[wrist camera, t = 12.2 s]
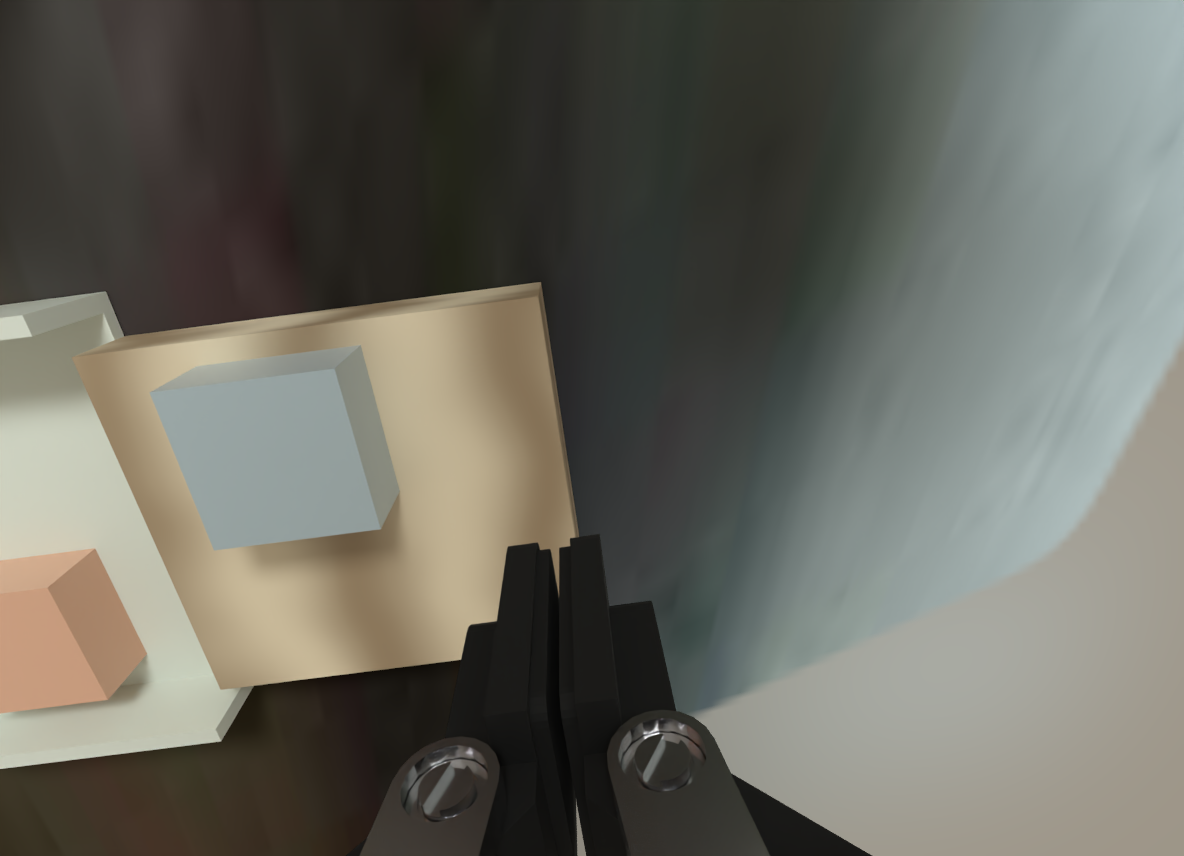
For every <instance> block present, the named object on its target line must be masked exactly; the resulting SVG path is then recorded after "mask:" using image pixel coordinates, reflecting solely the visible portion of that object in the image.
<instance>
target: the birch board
mask: <svg viewBox="0 0 1184 856" xmlns="http://www.w3.org/2000/svg"><path fill="white" fill-rule="evenodd" d="M357 345H361V348H362V352H363V355H364V359H365V363H366V367H367V370H368V374H369V378H370V382H371V385H372V389H373V393H374V397H375V400H376V404H377V408H378V412H379V415H380V419H381V423H382V427H383V430H384V434H385V438H386V442H387V445H388V449H389V453H390V456H391V460H392V464H393V468H394V471H395V475H396V479H397V483H398V486H399V490H400V492H399V494H398V496H397V498H396V500H395V502H394V504H393V506H392V508H391V510H390V512H389V514H388V516H387V518H386V520H385V522H384V524H383V526H382V528H381V529H379V530H371V531H363V532H355V533H347V534H340V535H332V536H324V537H316V538H308V539H300V540H292V541H285V542H277V543H269V544H261V545H253V546H245V547H238V548H230V549H222V550H214V549H213V547H212V544H211V542H210V539H209V537H208V535H207V532H206V530H205V527H204V525H203V522H202V520H201V517H200V515H199V513H198V510H197V508H196V505H195V503H194V500H193V498H192V495H191V493H190V491H189V488H188V486H187V483H186V481H185V478H184V476H183V473H182V471H181V469H180V466H179V464H178V461H177V459H176V456H175V454H174V451H173V449H172V447H171V444H170V442H169V439H168V437H167V434H166V432H165V429H164V427H163V424H162V422H161V420H160V417H159V415H158V412H157V410H156V407H155V405H154V402H153V400H152V398H151V395H150V392H151V391H153V390H155V389H157V388H159V387H160V386H162V385H164V384H166V383H167V382H169V381H171V380H173V379H175V378H176V377H178V376H180V375H182V374H184V373H185V372H187V371H189V370H191V369H193V368H194V367H196V366H203V365H210V364H218V363H226V362H233V361H241V360H249V359H256V358H264V357H272V356H280V355H287V354H295V353H303V352H310V351H318V350H326V349H333V348H341V347H349V346H357ZM72 360H73V362H74V364H75V366H76V369H77V371H78V373H79V375H80V377H81V380H82V382H83V384H84V386H85V389H86V391H87V393H88V395H89V398H90V400H91V402H92V404H93V406H94V409H95V411H96V413H97V415H98V418H99V420H100V422H101V424H102V427H103V429H104V431H105V433H106V435H107V438H108V440H109V442H110V444H111V447H112V449H113V451H114V453H115V455H116V458H117V460H118V462H119V464H120V467H121V469H122V471H123V473H124V476H125V478H126V480H127V482H128V484H129V487H130V489H131V491H132V493H133V496H134V498H135V500H136V502H137V505H138V507H139V509H140V511H141V513H142V516H143V518H144V520H145V522H146V525H147V527H148V529H149V531H150V534H151V536H152V538H153V540H154V542H155V545H156V547H157V549H158V551H159V554H160V556H161V558H162V560H163V563H164V565H165V567H166V569H167V571H168V574H169V576H170V578H171V580H172V583H173V585H174V587H175V589H176V592H177V594H178V596H179V598H180V600H181V603H182V605H183V607H184V609H185V612H186V614H187V616H188V618H189V621H190V623H191V625H192V627H193V629H194V632H195V634H196V636H197V638H198V641H199V643H200V645H201V647H202V650H203V652H204V654H205V656H206V658H207V661H208V663H209V665H210V667H211V670H212V672H213V674H214V676H215V679H216V681H217V683H218V685H219V687H220V690H224V689H232V688H240V687H248V686H256V685H264V684H272V683H280V682H288V681H296V680H304V679H312V678H319V677H327V676H335V675H343V674H351V673H359V672H367V671H375V670H383V669H391V668H399V667H407V666H415V665H423V664H431V663H439V662H447V661H455V660H461V658H462V653H463V648H464V643H465V638H466V633H467V630H468V627H469V626H470V625H471V624H479V623H486V622H494V621H497V616H498V609H499V602H500V595H501V588H502V581H503V574H504V567H505V560H506V553H507V547H508V546H514V545H522V544H529V543H537V542H538V544H539V547H540V550H544V549H550V550H551V553H552V559H553V565H554V570H555V576H556V582H557V588H558V594H559V548H560V547H567V546H570V538H575V537H579V531H578V525H577V518H576V512H575V505H574V498H573V492H572V485H571V478H570V472H569V465H568V458H567V452H566V445H565V439H564V432H563V425H562V419H561V412H560V405H559V399H558V392H557V386H556V379H555V372H554V366H553V359H552V352H551V346H550V339H549V332H548V326H547V319H546V313H545V306H544V299H543V293H542V286H541V282H537V283H530V284H522V285H514V286H507V287H499V288H491V289H484V290H476V291H468V292H461V293H453V294H445V295H438V296H430V297H422V298H415V299H407V300H399V301H392V302H384V303H376V304H369V305H361V306H353V307H346V308H338V309H330V310H323V311H315V312H307V313H300V314H292V315H284V316H277V317H269V318H261V319H254V320H246V321H238V322H231V323H223V324H215V325H208V326H200V327H192V328H185V329H177V330H169V331H162V332H154V333H146V334H139V335H131V336H124V337H121V338H119V339H116V340H114V341H111V342H109V343H106V344H104V345H101V346H99V347H96V348H94V349H91V350H89V351H86V352H84V353H81V354H79V355H76V356H74V357H72Z"/></svg>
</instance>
